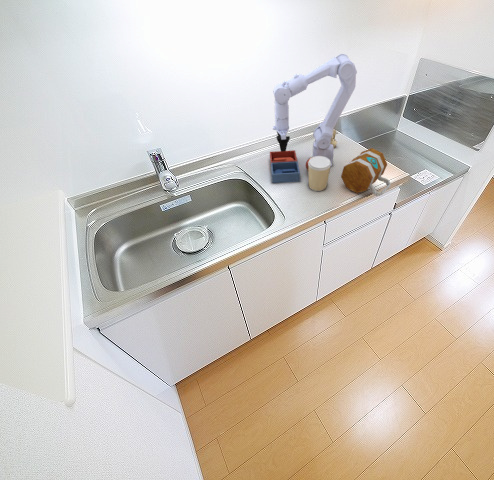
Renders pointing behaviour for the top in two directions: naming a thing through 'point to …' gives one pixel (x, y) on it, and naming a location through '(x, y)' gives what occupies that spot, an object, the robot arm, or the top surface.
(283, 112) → the robot arm
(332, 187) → the top surface
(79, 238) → the top surface
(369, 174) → the mug
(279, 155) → the red bin
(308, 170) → the apple
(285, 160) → the terracotta spoon
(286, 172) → the blue spoon
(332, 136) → the robot
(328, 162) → the coffee cup
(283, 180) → the blue bin
